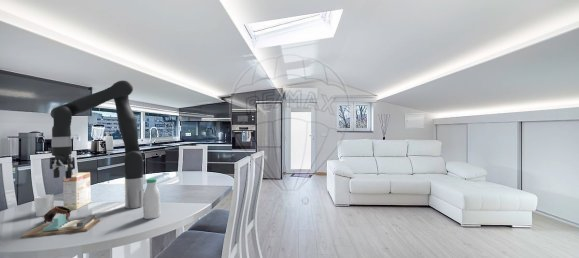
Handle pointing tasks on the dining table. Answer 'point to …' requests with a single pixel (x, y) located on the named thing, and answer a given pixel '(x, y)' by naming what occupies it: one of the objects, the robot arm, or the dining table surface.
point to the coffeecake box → (76, 190)
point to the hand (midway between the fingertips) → (62, 177)
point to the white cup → (43, 204)
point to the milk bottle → (151, 200)
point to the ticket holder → (65, 227)
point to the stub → (56, 223)
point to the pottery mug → (51, 213)
